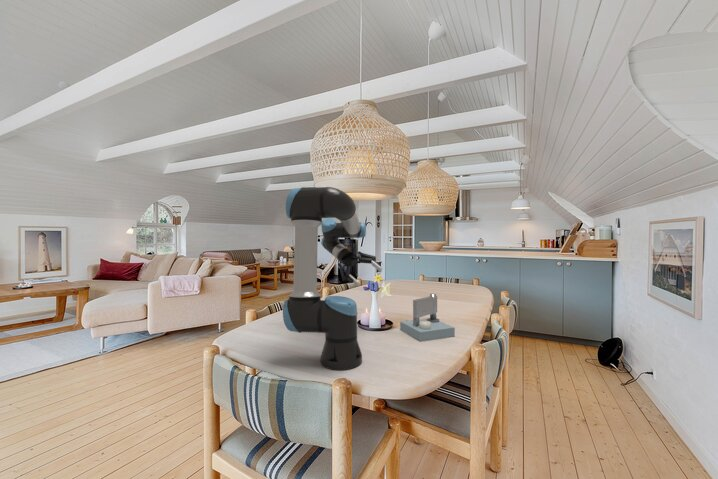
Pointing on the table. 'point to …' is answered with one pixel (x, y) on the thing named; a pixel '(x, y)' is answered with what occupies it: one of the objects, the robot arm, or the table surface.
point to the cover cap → (425, 324)
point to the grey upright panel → (424, 308)
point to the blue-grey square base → (427, 330)
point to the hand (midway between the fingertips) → (370, 277)
